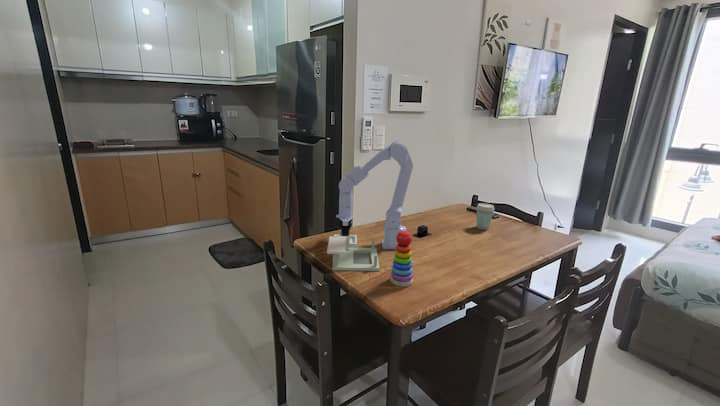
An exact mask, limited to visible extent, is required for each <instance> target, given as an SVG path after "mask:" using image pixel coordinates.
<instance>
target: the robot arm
mask: <svg viewBox="0 0 720 406" xmlns="http://www.w3.org/2000/svg"><path fill="white" fill-rule="evenodd" d="M392 159H394V160H395V161H396V162H397V163H398V165H399V167H400V168H399V173H398V176H397V181H396V185H395V188H394V192H393V196H392V199H391V202H390V206H389V208H388V210H386V213H385V223H384V224H383V240H381V246H382V249H384V250H397V249H396V245H397V244H398V242H397V239H396V237H397V234H398V233H399V232H400V231H407V228H406V227H407V226H405V225H402V218H401V214H402V212H403V211H402V208H403V204H404V201H405V197H406V193H407V190H408V187H409V183H410V179H411V175H412V173H413V172H412V171H413V168H414V164H413V160H412V157H411V155H410V152H409V149H408V148H407V146H406V145H405V144H404V143H403V142H402V141H399V140H396V141H395V140H394V141H393V142H391V144H389V145H386V146H385V147H384V148H383V149H381V150H380V151H378V153H376V154H375V155H374V156H373V157H372V158H371V159H370V160H369V161H367V162H366V163H365V164H364V165H362V164H359V165H358V166H357V165H355V166H354V167H353V170H352V171H350V172H349V173H346V174H345V175H344V177H342V178H341V179H340V181H339V182H338V189H339V196H338V197H339V199H338V214H336V218H338V219H339V222H338V226H339V228H340V229H341V232H342V236H348V235H349V230H351V227H352V225H353V223H352V221H353V218H354V215H353V211H354V209H353V206H354V204H353V203H354V195H353V191H354V189H353V188H354V187H355V186H358V185H359V184H360V183H361V182H363V181H364V180H365V179H367V177H369V172H370V171H372V169H374V168H375V167H377V166H378V165H379V164H381V163H382V162H383V161H391V160H392Z"/></svg>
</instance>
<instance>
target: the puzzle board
mask: <svg viewBox="0 0 720 406" xmlns="http://www.w3.org/2000/svg"><path fill="white" fill-rule="evenodd" d="M375 241H376V240H375V238H372V239H371V247H358V246H357V247H349V254H332V268H331V269H332V271H358V272H360V271H361V272H363V271H364V272H380V269H381V267H380V262H379V257H378V250H377V249H378V248H377V247H375Z"/></svg>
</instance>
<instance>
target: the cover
mask: <svg viewBox="0 0 720 406" xmlns="http://www.w3.org/2000/svg"><path fill="white" fill-rule="evenodd" d="M349 241H350V236H334V235H329V238H328V244H327V249H326V254H329V255H330V254H331V255H333V254H349Z"/></svg>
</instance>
